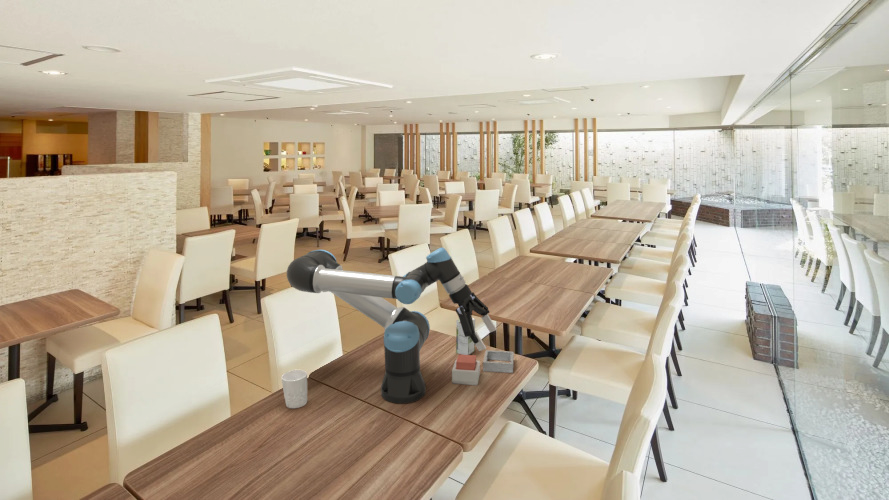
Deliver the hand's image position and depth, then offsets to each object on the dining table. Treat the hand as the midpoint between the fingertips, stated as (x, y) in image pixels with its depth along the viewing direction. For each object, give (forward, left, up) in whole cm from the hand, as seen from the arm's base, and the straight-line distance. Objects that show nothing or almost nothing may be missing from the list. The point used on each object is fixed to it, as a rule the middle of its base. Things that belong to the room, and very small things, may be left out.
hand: (488, 339), depth 161 cm
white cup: (-61, -25, -15) cm, 68 cm away
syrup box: (-11, +22, -15) cm, 29 cm away
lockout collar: (+3, +12, -15) cm, 19 cm away
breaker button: (-8, 0, -12) cm, 15 cm away
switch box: (-8, 0, -15) cm, 17 cm away
